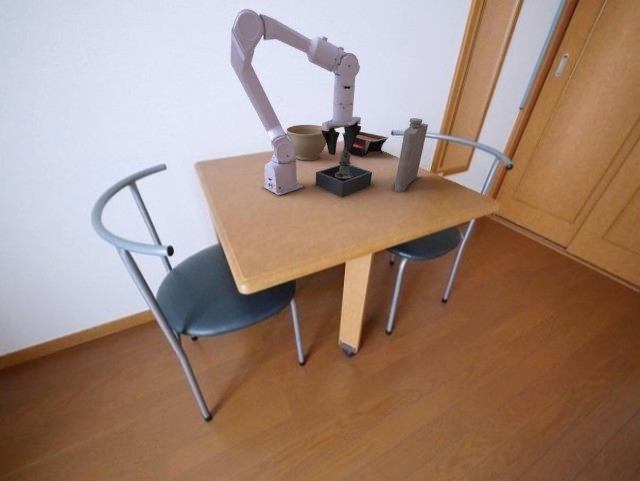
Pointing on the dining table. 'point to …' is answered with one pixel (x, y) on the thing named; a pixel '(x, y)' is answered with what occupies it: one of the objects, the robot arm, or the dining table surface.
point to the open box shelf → (343, 188)
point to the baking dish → (366, 143)
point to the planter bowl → (307, 141)
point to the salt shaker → (344, 167)
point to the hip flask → (410, 153)
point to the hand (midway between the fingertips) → (340, 151)
